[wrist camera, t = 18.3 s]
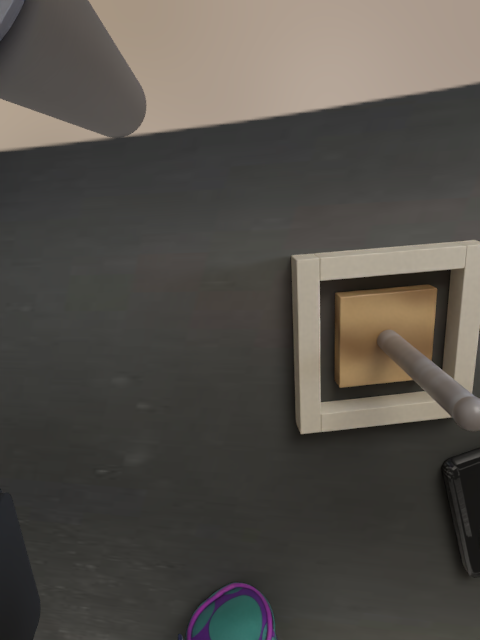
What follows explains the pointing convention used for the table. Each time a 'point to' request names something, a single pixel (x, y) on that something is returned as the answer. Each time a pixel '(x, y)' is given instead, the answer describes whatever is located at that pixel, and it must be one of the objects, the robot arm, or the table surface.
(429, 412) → the white square frame
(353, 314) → the wooden base with peg
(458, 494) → the phone
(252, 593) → the pencil case
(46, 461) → the table surface
